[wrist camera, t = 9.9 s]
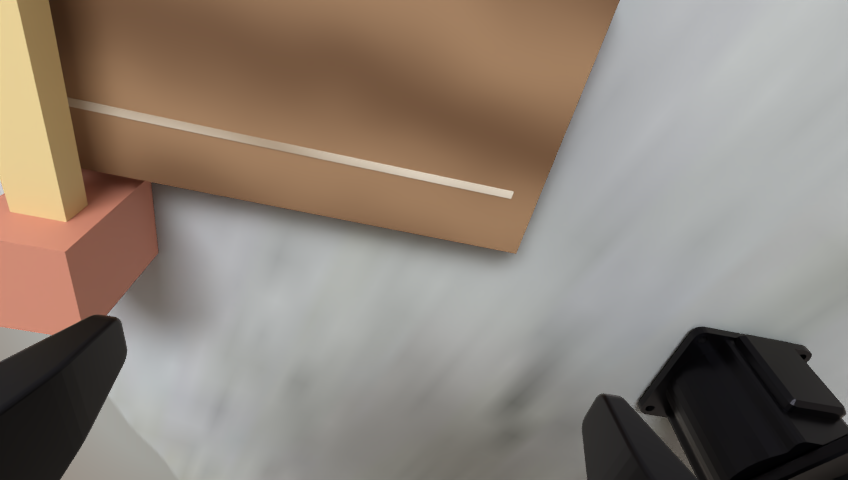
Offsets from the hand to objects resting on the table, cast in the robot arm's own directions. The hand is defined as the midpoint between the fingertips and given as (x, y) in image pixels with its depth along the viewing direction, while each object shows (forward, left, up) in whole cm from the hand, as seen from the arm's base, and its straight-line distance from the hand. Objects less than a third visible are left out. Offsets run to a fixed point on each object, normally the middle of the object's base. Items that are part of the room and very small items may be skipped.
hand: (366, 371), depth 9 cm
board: (+2, +5, -12) cm, 13 cm away
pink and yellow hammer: (-1, +12, -12) cm, 16 cm away
